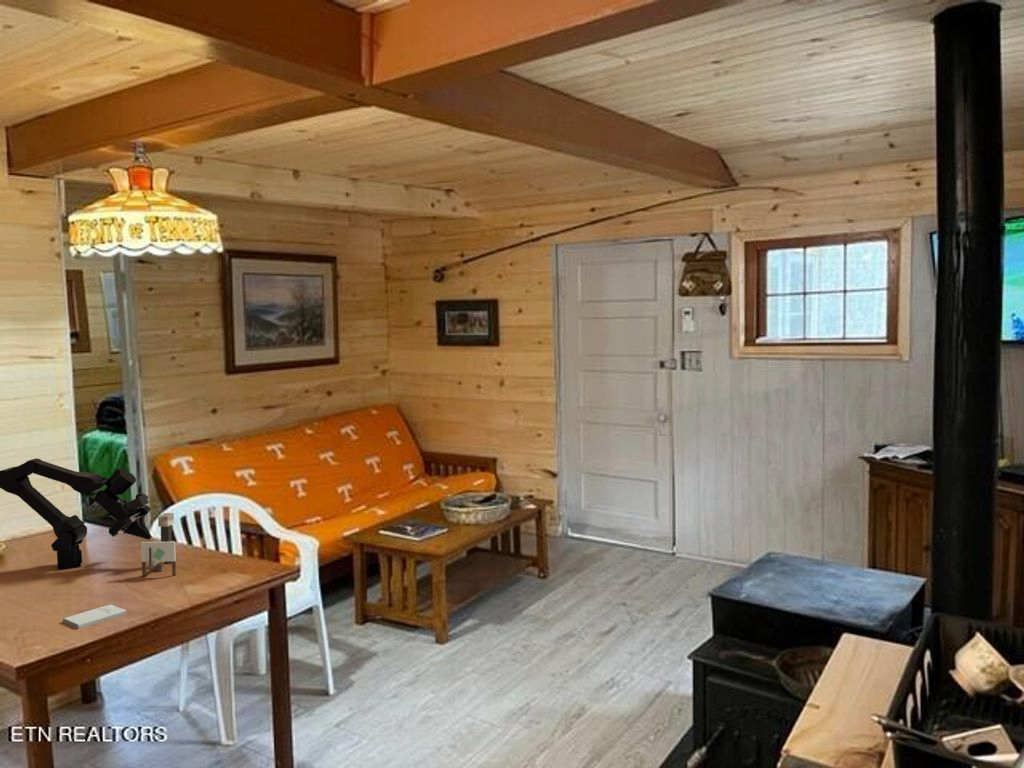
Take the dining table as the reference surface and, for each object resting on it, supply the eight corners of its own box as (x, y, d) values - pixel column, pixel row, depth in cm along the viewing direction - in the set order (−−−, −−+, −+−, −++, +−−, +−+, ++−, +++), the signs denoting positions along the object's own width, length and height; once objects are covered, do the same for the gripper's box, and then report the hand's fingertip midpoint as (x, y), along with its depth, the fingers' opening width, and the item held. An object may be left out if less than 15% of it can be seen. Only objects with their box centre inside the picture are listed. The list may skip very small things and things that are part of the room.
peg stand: (142, 576, 242) (141, 561, 242) (161, 562, 256) (160, 548, 256) (175, 575, 242) (175, 561, 242) (193, 561, 256) (192, 547, 256)
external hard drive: (63, 624, 206) (110, 609, 216) (78, 630, 201) (126, 615, 211) (62, 617, 206) (110, 603, 216) (78, 624, 201) (126, 609, 211)
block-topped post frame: (144, 570, 241) (144, 524, 240) (164, 555, 255) (164, 513, 254) (154, 570, 241) (154, 525, 240) (174, 556, 255) (173, 513, 254)
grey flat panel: (141, 561, 241) (140, 542, 241) (142, 561, 242) (141, 542, 242) (174, 561, 242) (173, 542, 241) (175, 560, 242) (174, 541, 242)
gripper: (116, 493, 242) (155, 528, 243) (143, 480, 260) (179, 513, 261) (92, 519, 242) (130, 553, 243) (120, 504, 261) (156, 537, 262)
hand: (150, 538), depth 252 cm, fingers closed
